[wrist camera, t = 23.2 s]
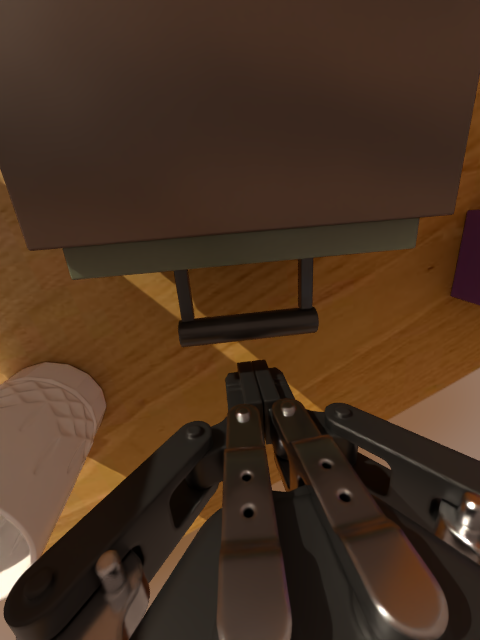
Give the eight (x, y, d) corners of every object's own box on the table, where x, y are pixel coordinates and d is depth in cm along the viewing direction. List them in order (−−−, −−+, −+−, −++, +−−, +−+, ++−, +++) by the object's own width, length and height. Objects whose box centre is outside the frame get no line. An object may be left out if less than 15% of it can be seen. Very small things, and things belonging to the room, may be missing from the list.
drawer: (337, 303, 19) (401, 344, 12) (140, 323, 18) (100, 380, 12) (357, -97, 12) (516, -444, 6) (48, -95, 11) (-161, -499, 5)
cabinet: (344, 217, 18) (454, 214, 10) (115, 237, 17) (27, 251, 9) (364, -150, 12) (653, -855, 4) (27, -152, 11) (-423, -1064, 3)
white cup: (101, 452, 22) (20, 621, 13) (-7, 428, 20) (-191, 603, 11) (126, 372, 20) (51, 506, 11) (8, 338, 18) (-205, 462, 9)
